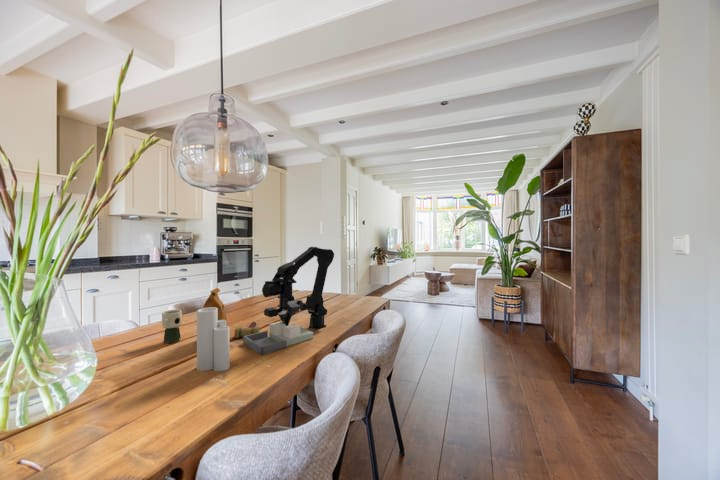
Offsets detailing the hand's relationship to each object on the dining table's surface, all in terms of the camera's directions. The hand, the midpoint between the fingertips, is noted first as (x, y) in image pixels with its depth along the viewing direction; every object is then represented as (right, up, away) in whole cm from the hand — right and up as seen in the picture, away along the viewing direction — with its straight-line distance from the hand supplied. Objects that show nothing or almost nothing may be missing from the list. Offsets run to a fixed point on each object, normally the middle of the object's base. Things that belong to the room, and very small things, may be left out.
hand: (286, 328), depth 132 cm
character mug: (-47, -4, -6) cm, 48 cm away
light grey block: (+4, -1, -6) cm, 8 cm away
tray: (-6, -4, -11) cm, 13 cm away
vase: (-17, -5, -30) cm, 35 cm away
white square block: (-3, -1, -3) cm, 4 cm away
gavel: (-19, -4, +8) cm, 21 cm away
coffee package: (-30, -4, -4) cm, 31 cm away
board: (+3, -4, -2) cm, 5 cm away
